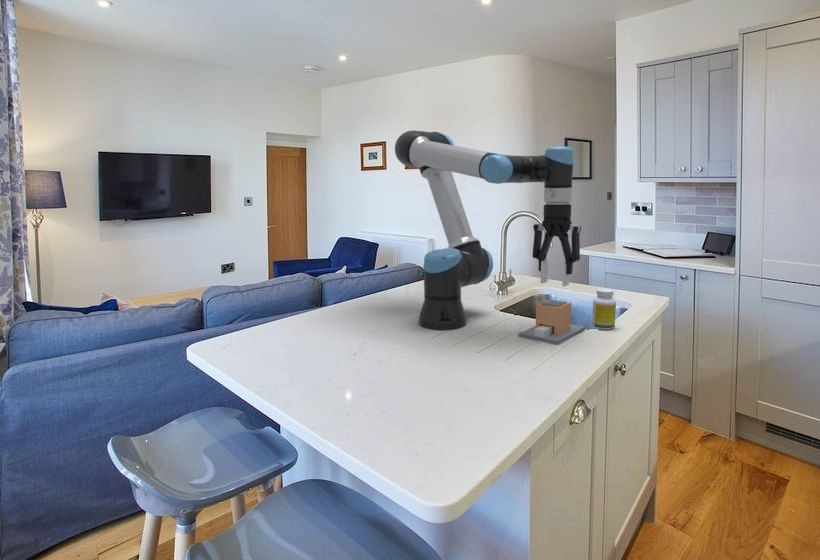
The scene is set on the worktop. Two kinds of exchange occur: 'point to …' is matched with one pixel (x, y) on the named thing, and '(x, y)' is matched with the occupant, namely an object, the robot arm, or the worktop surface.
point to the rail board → (551, 333)
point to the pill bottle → (604, 310)
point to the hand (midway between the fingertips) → (554, 283)
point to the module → (554, 315)
